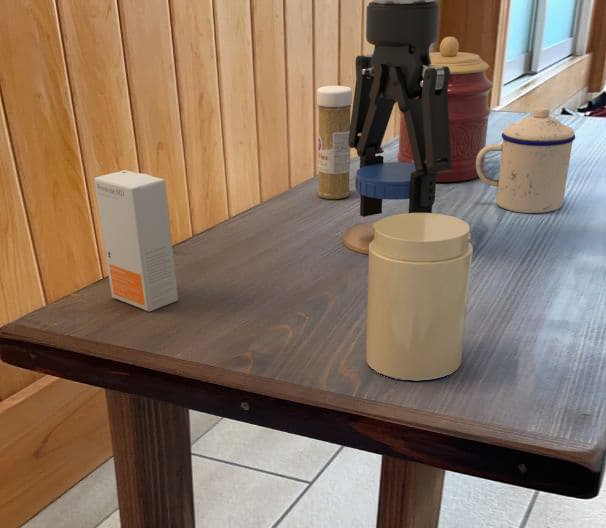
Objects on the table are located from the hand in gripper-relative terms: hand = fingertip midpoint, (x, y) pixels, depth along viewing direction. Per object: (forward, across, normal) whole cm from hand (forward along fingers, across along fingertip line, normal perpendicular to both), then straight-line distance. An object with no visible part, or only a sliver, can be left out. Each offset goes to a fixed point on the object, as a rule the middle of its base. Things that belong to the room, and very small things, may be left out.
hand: (394, 223), depth 101 cm
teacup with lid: (+2, -3, +23) cm, 23 cm away
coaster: (+2, 0, 0) cm, 2 cm away
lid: (-5, 0, 0) cm, 5 cm away
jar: (+2, +28, -18) cm, 34 cm away
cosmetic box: (+2, +1, -33) cm, 33 cm away
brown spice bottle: (+2, -21, +5) cm, 21 cm away
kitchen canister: (+2, -22, +25) cm, 33 cm away
